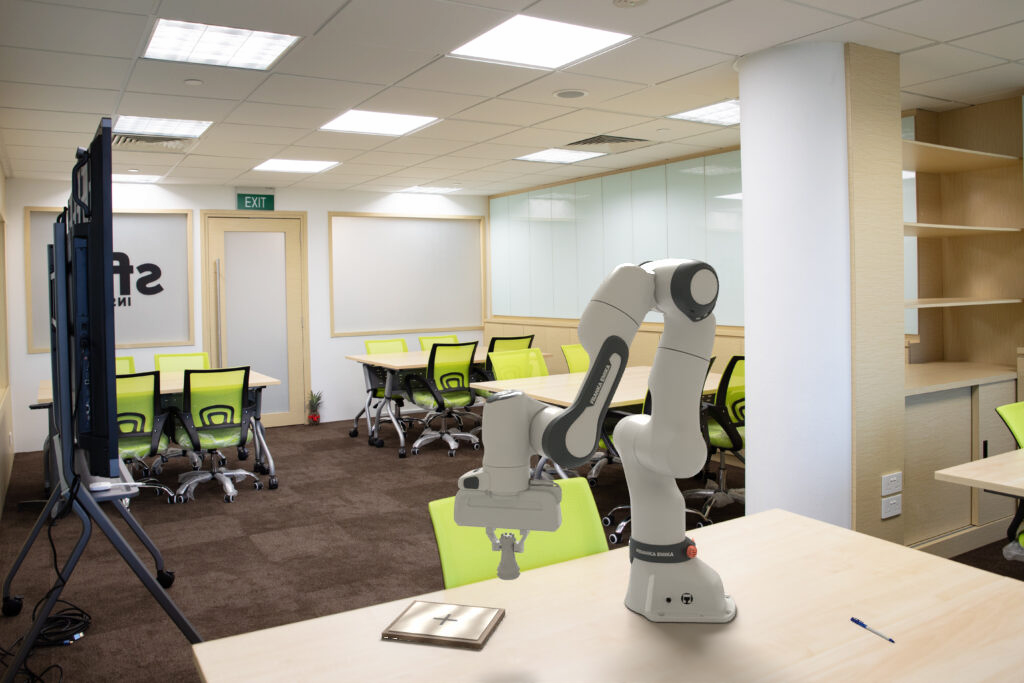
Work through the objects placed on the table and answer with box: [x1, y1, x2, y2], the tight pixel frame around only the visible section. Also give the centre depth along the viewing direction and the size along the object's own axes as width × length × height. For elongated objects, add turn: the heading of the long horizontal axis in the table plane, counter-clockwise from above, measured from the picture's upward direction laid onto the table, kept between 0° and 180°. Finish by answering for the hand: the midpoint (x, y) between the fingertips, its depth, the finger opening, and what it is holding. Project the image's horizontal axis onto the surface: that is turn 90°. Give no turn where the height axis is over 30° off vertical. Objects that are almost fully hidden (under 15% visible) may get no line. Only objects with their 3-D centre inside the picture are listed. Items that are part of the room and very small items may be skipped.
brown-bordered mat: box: [381, 599, 506, 650], centre depth 150 cm, size 20×16×1 cm
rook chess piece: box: [496, 531, 521, 581], centre depth 142 cm, size 4×4×8 cm
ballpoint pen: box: [849, 616, 895, 643], centre depth 144 cm, size 10×1×1 cm, turn 20°
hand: (508, 551), depth 142 cm, fingers closed on rook chess piece, 3 cm apart
